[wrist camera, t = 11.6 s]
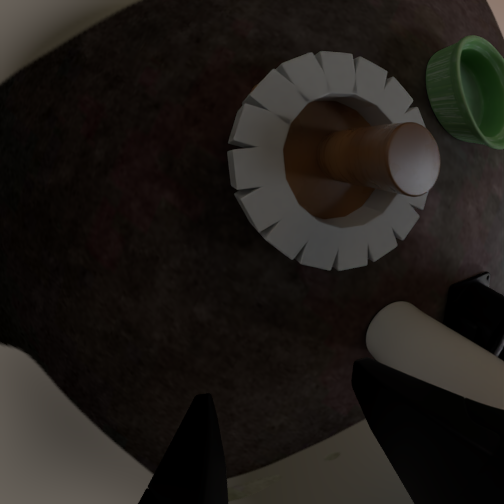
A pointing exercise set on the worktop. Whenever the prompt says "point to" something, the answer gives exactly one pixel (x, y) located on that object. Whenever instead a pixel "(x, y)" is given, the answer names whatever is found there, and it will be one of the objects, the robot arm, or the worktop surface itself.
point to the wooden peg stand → (354, 159)
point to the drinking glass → (435, 354)
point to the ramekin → (468, 91)
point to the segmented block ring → (273, 168)
